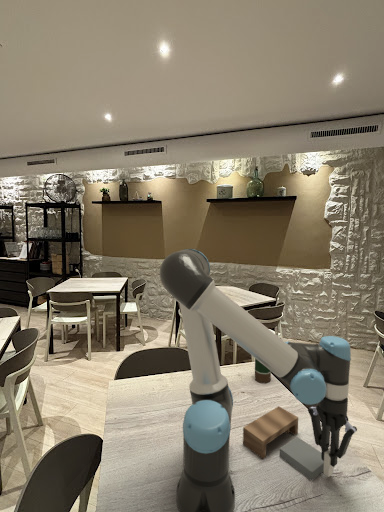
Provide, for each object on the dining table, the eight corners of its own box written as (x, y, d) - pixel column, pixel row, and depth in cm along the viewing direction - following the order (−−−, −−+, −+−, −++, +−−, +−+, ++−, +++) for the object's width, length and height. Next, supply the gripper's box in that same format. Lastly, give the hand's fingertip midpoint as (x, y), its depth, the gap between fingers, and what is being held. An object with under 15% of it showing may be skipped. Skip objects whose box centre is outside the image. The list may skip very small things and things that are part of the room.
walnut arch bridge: (262, 459, 89) (263, 441, 88) (242, 444, 95) (243, 427, 95) (297, 433, 100) (298, 417, 100) (278, 421, 107) (278, 406, 106)
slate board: (311, 482, 81) (312, 472, 81) (279, 457, 90) (279, 448, 90) (329, 467, 86) (329, 457, 86) (296, 445, 95) (297, 436, 95)
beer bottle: (267, 385, 132) (269, 333, 130) (251, 380, 136) (252, 330, 134) (273, 378, 138) (274, 329, 136) (257, 373, 142) (258, 326, 140)
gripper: (363, 399, 77) (358, 482, 79) (317, 379, 88) (313, 453, 90) (351, 410, 73) (345, 497, 75) (303, 387, 83) (300, 464, 85)
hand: (328, 473), depth 82 cm, fingers closed
